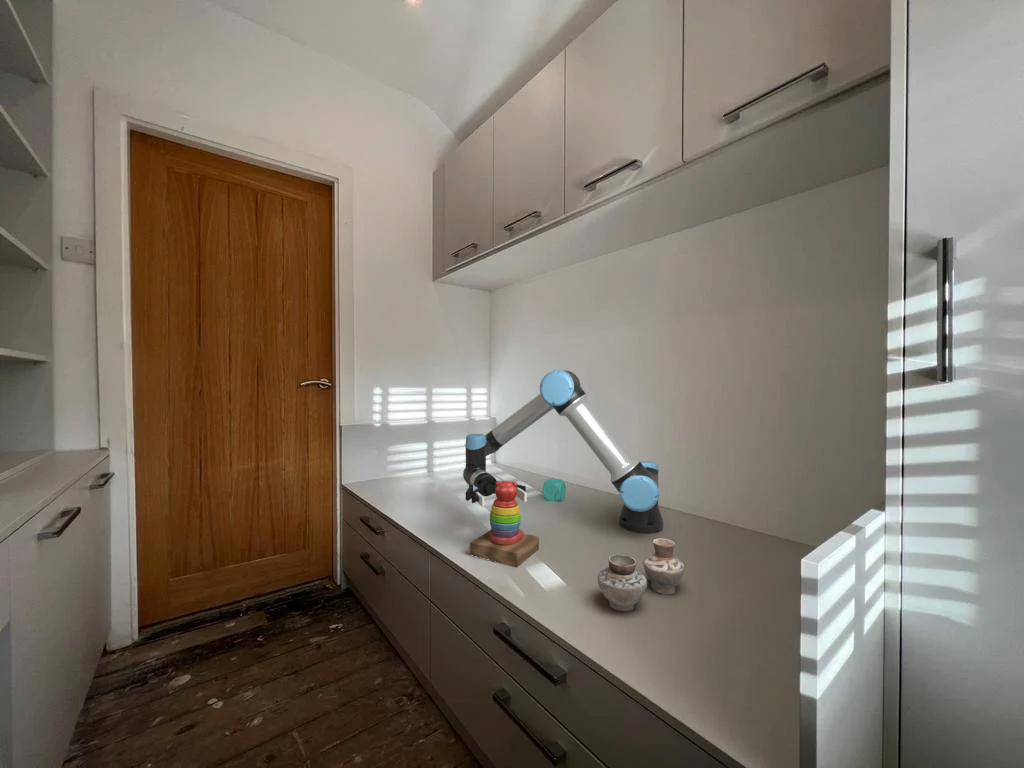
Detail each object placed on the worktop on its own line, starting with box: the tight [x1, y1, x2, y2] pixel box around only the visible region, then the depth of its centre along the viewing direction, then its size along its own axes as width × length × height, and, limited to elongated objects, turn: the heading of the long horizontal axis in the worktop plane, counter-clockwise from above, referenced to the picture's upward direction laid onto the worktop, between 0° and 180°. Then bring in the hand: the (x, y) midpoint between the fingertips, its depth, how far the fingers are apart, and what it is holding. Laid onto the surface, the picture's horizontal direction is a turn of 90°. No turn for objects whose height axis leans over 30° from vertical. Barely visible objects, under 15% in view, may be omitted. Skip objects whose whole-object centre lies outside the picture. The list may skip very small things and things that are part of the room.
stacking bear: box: [489, 480, 525, 545], centre depth 128 cm, size 11×10×18 cm
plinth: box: [469, 530, 540, 568], centre depth 128 cm, size 16×14×4 cm
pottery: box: [596, 537, 686, 612], centre depth 103 cm, size 11×25×12 cm, turn 121°
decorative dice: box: [542, 478, 567, 502], centre depth 183 cm, size 8×8×8 cm
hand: (505, 499), depth 128 cm, fingers open, 13 cm apart
